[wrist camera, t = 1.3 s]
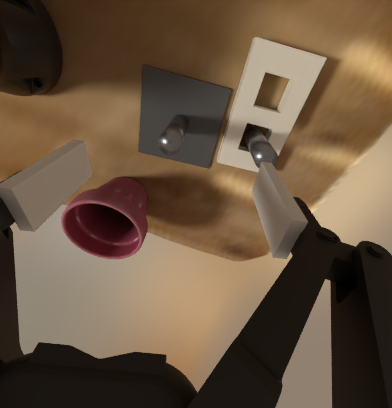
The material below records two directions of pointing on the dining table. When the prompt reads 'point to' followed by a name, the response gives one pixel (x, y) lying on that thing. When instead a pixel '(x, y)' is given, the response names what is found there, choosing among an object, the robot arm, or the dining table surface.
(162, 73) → the mat
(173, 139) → the peg
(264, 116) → the hole board
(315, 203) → the dining table surface
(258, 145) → the seated peg
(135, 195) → the plant pot
